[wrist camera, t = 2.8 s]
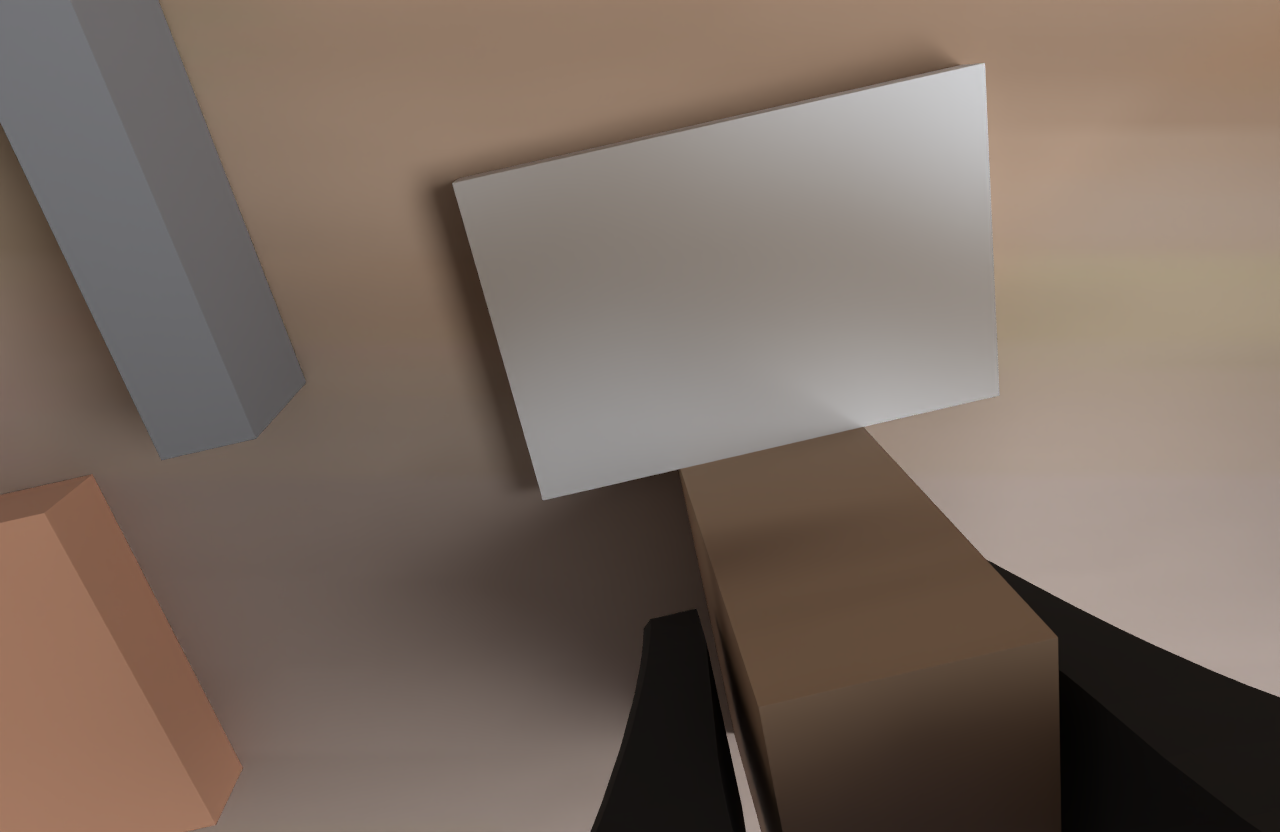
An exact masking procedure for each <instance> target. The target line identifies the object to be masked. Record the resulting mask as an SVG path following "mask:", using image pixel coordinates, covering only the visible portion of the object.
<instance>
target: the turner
mask: <svg viewBox="0 0 1280 832" xmlns="http://www.w3.org/2000/svg"><path fill="white" fill-rule="evenodd" d="M452 185H453V188H454V192H455V195H456V199H457V202H458V206H459V209H460V212H461V216H462V219H463V223H464V226H465V230H466V233H467V237H468V240H469V244H470V247H471V251H472V254H473V258H474V261H475V265H476V268H477V272H478V275H479V279H480V282H481V286H482V289H483V293H484V296H485V300H486V303H487V307H488V310H489V314H490V317H491V321H492V324H493V328H494V331H495V335H496V338H497V342H498V345H499V349H500V352H501V356H502V359H503V363H504V366H505V370H506V373H507V377H508V380H509V384H510V387H511V391H512V394H513V398H514V401H515V405H516V408H517V412H518V415H519V419H520V422H521V426H522V429H523V433H524V436H525V440H526V443H527V447H528V450H529V454H530V457H531V461H532V464H533V468H534V471H535V475H536V478H537V482H538V485H539V488H540V492H541V495H542V499H543V500H548V499H552V498H556V497H561V496H565V495H569V494H574V493H578V492H582V491H587V490H591V489H595V488H600V487H604V486H608V485H613V484H617V483H621V482H626V481H630V480H635V479H639V478H643V477H648V476H652V475H656V474H661V473H665V472H669V471H674V470H679V475H680V479H681V484H682V489H683V493H684V498H685V503H686V508H687V512H688V517H689V522H690V527H691V531H692V536H693V541H694V545H695V550H696V555H697V560H698V564H699V569H700V574H701V579H702V583H703V588H704V593H705V597H706V602H707V607H708V612H709V616H710V621H711V626H712V631H713V635H714V640H715V645H716V649H717V654H718V659H719V664H720V668H721V673H722V678H723V683H724V687H725V692H726V697H727V701H728V706H729V711H730V716H731V720H732V725H733V730H734V734H735V738H736V742H737V745H738V749H739V752H740V756H741V760H742V763H743V767H744V771H745V774H746V778H747V781H748V785H749V789H750V792H751V796H752V799H753V803H754V807H755V810H756V814H757V818H758V821H759V825H760V828H761V832H1061V784H1060V724H1059V665H1058V637H1057V636H1056V634H1055V633H1054V632H1053V631H1052V630H1051V629H1050V628H1049V627H1048V626H1047V625H1046V624H1045V623H1044V622H1043V620H1042V619H1041V618H1040V617H1039V616H1038V615H1037V614H1036V613H1035V612H1034V611H1033V610H1032V609H1031V608H1030V606H1029V605H1028V604H1027V603H1026V602H1025V601H1024V600H1023V599H1022V598H1021V597H1020V596H1019V595H1018V594H1017V592H1016V591H1015V590H1014V589H1013V588H1012V587H1011V586H1010V585H1009V584H1008V583H1007V582H1006V581H1005V579H1004V578H1003V577H1002V576H1001V575H1000V574H999V573H998V572H997V571H996V570H995V569H994V568H993V567H992V565H991V564H990V563H989V562H988V561H987V560H986V559H985V558H984V557H983V556H982V555H981V554H980V553H979V551H978V550H977V549H976V548H975V547H974V546H973V545H972V544H971V543H970V542H969V541H968V540H967V538H966V537H965V536H964V535H963V534H962V533H961V532H960V531H959V530H958V529H957V528H956V527H955V526H954V524H953V523H952V522H951V521H950V520H949V519H948V518H947V517H946V516H945V515H944V514H943V513H942V512H941V510H940V509H939V508H938V507H937V506H936V505H935V504H934V503H933V502H932V501H931V500H930V499H929V498H928V496H927V495H926V494H925V493H924V492H923V491H922V490H921V489H920V488H919V487H918V486H917V485H916V483H915V482H914V481H913V480H912V479H911V478H910V477H909V476H908V475H907V474H906V473H905V472H904V471H903V469H902V468H901V467H900V466H899V465H898V464H897V463H896V462H895V461H894V460H893V459H892V458H891V457H890V455H889V454H888V453H887V452H886V451H885V450H884V449H883V448H882V447H881V446H880V445H879V444H878V443H877V441H876V440H875V439H874V438H873V437H872V436H871V435H870V434H869V433H868V432H867V431H866V430H865V428H864V427H865V426H869V425H874V424H878V423H882V422H887V421H891V420H895V419H900V418H904V417H908V416H913V415H917V414H921V413H926V412H930V411H934V410H939V409H943V408H947V407H952V406H956V405H960V404H965V403H969V402H973V401H978V400H982V399H987V398H991V397H995V396H999V374H998V351H997V328H996V305H995V283H994V260H993V237H992V215H991V192H990V169H989V146H988V124H987V101H986V78H985V63H978V64H966V65H958V66H954V67H950V68H945V69H941V70H936V71H932V72H927V73H923V74H919V75H914V76H910V77H905V78H901V79H896V80H892V81H888V82H883V83H879V84H874V85H870V86H865V87H861V88H857V89H852V90H848V91H843V92H839V93H834V94H830V95H826V96H821V97H817V98H812V99H808V100H803V101H799V102H795V103H790V104H786V105H781V106H777V107H772V108H768V109H764V110H759V111H755V112H750V113H746V114H741V115H737V116H733V117H728V118H724V119H719V120H715V121H710V122H706V123H702V124H697V125H693V126H688V127H684V128H679V129H675V130H671V131H666V132H662V133H657V134H653V135H648V136H644V137H640V138H635V139H631V140H626V141H622V142H617V143H613V144H609V145H604V146H600V147H595V148H591V149H586V150H582V151H578V152H573V153H569V154H564V155H560V156H555V157H551V158H547V159H542V160H538V161H533V162H529V163H524V164H520V165H516V166H511V167H507V168H502V169H498V170H493V171H489V172H485V173H480V174H476V175H471V176H467V177H462V178H458V179H457V180H456V181H454V182H453V183H452Z"/></svg>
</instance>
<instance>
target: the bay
mask: <svg viewBox="0 0 1280 832" xmlns="http://www.w3.org/2000/svg"><path fill="white" fill-rule="evenodd" d="M0 123H1V125H2V127H3V129H4V131H5V133H6V135H7V138H8V140H9V142H10V144H11V146H12V148H13V150H14V152H15V154H16V156H17V159H18V161H19V163H20V165H21V167H22V169H23V171H24V173H25V175H26V177H27V180H28V182H29V184H30V186H31V188H32V190H33V192H34V194H35V196H36V198H37V200H38V203H39V205H40V207H41V209H42V211H43V213H44V215H45V217H46V219H47V221H48V224H49V226H50V228H51V230H52V232H53V234H54V236H55V238H56V240H57V242H58V245H59V247H60V249H61V251H62V253H63V255H64V257H65V259H66V261H67V263H68V265H69V268H70V270H71V272H72V274H73V276H74V278H75V280H76V282H77V284H78V286H79V289H80V291H81V293H82V295H83V297H84V299H85V301H86V303H87V305H88V307H89V310H90V312H91V314H92V316H93V318H94V320H95V322H96V324H97V326H98V328H99V330H100V333H101V335H102V337H103V339H104V341H105V343H106V345H107V347H108V349H109V351H110V354H111V356H112V358H113V360H114V362H115V364H116V366H117V368H118V370H119V372H120V375H121V377H122V379H123V381H124V383H125V385H126V387H127V389H128V391H129V393H130V395H131V398H132V400H133V402H134V404H135V406H136V408H137V410H138V412H139V414H140V416H141V419H142V421H143V423H144V425H145V427H146V429H147V431H148V433H149V435H150V437H151V440H152V442H153V444H154V446H155V448H156V450H157V452H158V454H159V456H160V458H161V460H165V459H169V458H174V457H178V456H182V455H187V454H191V453H195V452H200V451H204V450H209V449H213V448H217V447H222V446H226V445H231V444H235V443H239V442H244V441H248V440H252V439H256V438H257V437H258V436H259V435H260V434H261V433H262V431H263V430H264V429H265V428H266V427H267V426H268V425H269V424H270V422H271V421H272V420H273V419H274V418H275V417H276V416H277V415H278V413H279V412H280V411H281V410H282V409H283V408H284V407H285V406H286V405H287V403H288V402H289V401H290V400H291V399H292V398H293V397H294V396H295V394H296V393H297V392H298V391H299V390H300V389H301V388H302V387H303V386H304V384H305V383H306V381H305V378H304V376H303V373H302V370H301V368H300V365H299V363H298V360H297V358H296V355H295V352H294V350H293V347H292V345H291V342H290V339H289V337H288V334H287V332H286V329H285V327H284V324H283V321H282V319H281V316H280V314H279V311H278V308H277V306H276V303H275V301H274V298H273V296H272V293H271V290H270V288H269V285H268V283H267V280H266V277H265V275H264V272H263V270H262V267H261V264H260V262H259V259H258V257H257V254H256V252H255V249H254V246H253V244H252V241H251V239H250V236H249V233H248V231H247V228H246V226H245V223H244V221H243V218H242V215H241V213H240V210H239V208H238V205H237V202H236V200H235V197H234V195H233V192H232V190H231V187H230V184H229V182H228V179H227V177H226V174H225V171H224V169H223V166H222V164H221V161H220V159H219V156H218V153H217V151H216V148H215V146H214V143H213V140H212V138H211V135H210V133H209V130H208V127H207V125H206V122H205V120H204V117H203V115H202V112H201V109H200V107H199V104H198V102H197V99H196V96H195V94H194V91H193V89H192V86H191V84H190V81H189V78H188V76H187V73H186V71H185V68H184V65H183V63H182V60H181V58H180V55H179V53H178V50H177V47H176V45H175V42H174V40H173V37H172V34H171V32H170V29H169V27H168V24H167V21H166V19H165V16H164V14H163V11H162V9H161V6H160V3H159V1H158V0H0Z"/></svg>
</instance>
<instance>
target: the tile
mask: <svg viewBox="0 0 1280 832" xmlns="http://www.w3.org/2000/svg"><path fill="white" fill-rule="evenodd" d="M242 769H243V767H242V765H241V763H240V762H239V760H238V758H237V756H236V754H235V752H234V750H233V748H232V746H231V744H230V742H229V740H228V738H227V736H226V734H225V732H224V730H223V728H222V726H221V724H220V722H219V721H218V719H217V717H216V715H215V713H214V711H213V709H212V707H211V705H210V703H209V701H208V699H207V697H206V695H205V693H204V691H203V689H202V687H201V685H200V683H199V682H198V680H197V678H196V676H195V674H194V672H193V670H192V668H191V666H190V664H189V662H188V660H187V658H186V656H185V654H184V652H183V650H182V648H181V646H180V644H179V642H178V641H177V639H176V637H175V635H174V633H173V631H172V629H171V627H170V625H169V623H168V621H167V619H166V617H165V615H164V613H163V611H162V609H161V607H160V605H159V603H158V602H157V600H156V598H155V596H154V594H153V592H152V590H151V588H150V586H149V584H148V582H147V580H146V578H145V576H144V574H143V572H142V570H141V568H140V566H139V564H138V563H137V561H136V559H135V557H134V555H133V553H132V551H131V549H130V547H129V545H128V543H127V541H126V539H125V537H124V535H123V533H122V531H121V529H120V527H119V525H118V523H117V522H116V520H115V518H114V516H113V514H112V512H111V510H110V508H109V506H108V504H107V502H106V500H105V498H104V496H103V494H102V492H101V490H100V488H99V486H98V484H97V483H96V481H95V479H94V477H93V475H92V474H91V475H87V476H82V477H78V478H73V479H69V480H64V481H60V482H56V483H51V484H47V485H42V486H38V487H33V488H29V489H24V490H20V491H16V492H11V493H7V494H2V495H0V832H187V831H191V830H195V829H200V828H204V827H209V826H213V825H216V824H217V822H218V820H219V817H220V815H221V813H222V811H223V809H224V807H225V805H226V803H227V801H228V798H229V796H230V794H231V792H232V790H233V788H234V786H235V784H236V781H237V779H238V777H239V775H240V773H241V771H242Z"/></svg>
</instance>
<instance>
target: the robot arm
mask: <svg viewBox="0 0 1280 832" xmlns="http://www.w3.org/2000/svg"><path fill="white" fill-rule="evenodd" d="M987 561H988V560H987ZM988 562H989V563H990V564H991V565H992V567H993V568H994V569H995V570H996V571H997V572H998V573H999V574H1000V575H1001V576H1002V577H1003V578H1004V579H1005V581H1006V582H1007V583H1008V584H1009V585H1010V586H1011V587H1012V588H1013V589H1014V590H1015V591H1016V592H1017V594H1018V595H1019V596H1020V597H1021V598H1022V599H1023V600H1024V601H1025V602H1026V603H1027V604H1028V605H1029V606H1030V608H1031V609H1032V610H1033V611H1034V612H1035V613H1036V614H1037V615H1038V616H1039V617H1040V618H1041V619H1042V620H1043V622H1044V623H1045V624H1046V625H1047V626H1048V627H1049V628H1050V629H1051V630H1052V631H1053V632H1054V633H1055V634H1056V636H1057V637H1058V665H1059V724H1060V784H1061V832H1280V697H1277V696H1275V695H1272V694H1269V693H1267V692H1264V691H1261V690H1259V689H1256V688H1253V687H1251V686H1248V685H1245V684H1243V683H1241V682H1238V681H1236V680H1233V679H1231V678H1228V677H1226V676H1223V675H1221V674H1218V673H1216V672H1214V671H1211V670H1209V669H1207V668H1204V667H1202V666H1200V665H1198V664H1195V663H1193V662H1191V661H1189V660H1186V659H1184V658H1182V657H1180V656H1177V655H1175V654H1173V653H1171V652H1168V651H1166V650H1164V649H1162V648H1159V647H1157V646H1155V645H1153V644H1150V643H1148V642H1146V641H1144V640H1142V639H1140V638H1138V637H1136V636H1134V635H1131V634H1129V633H1127V632H1125V631H1123V630H1121V629H1119V628H1117V627H1115V626H1113V625H1111V624H1109V623H1107V622H1105V621H1103V620H1101V619H1099V618H1097V617H1095V616H1093V615H1091V614H1089V613H1087V612H1085V611H1083V610H1081V609H1079V608H1077V607H1075V606H1073V605H1071V604H1069V603H1067V602H1065V601H1063V600H1061V599H1060V598H1058V597H1056V596H1054V595H1052V594H1050V593H1048V592H1046V591H1044V590H1042V589H1041V588H1039V587H1037V586H1035V585H1033V584H1031V583H1029V582H1027V581H1026V580H1024V579H1022V578H1020V577H1018V576H1016V575H1014V574H1012V573H1011V572H1009V571H1007V570H1005V569H1003V568H1001V567H999V566H997V565H996V564H994V563H992V562H990V561H988ZM591 832H746V830H745V823H744V817H743V811H742V805H741V800H740V795H739V791H738V786H737V782H736V777H735V772H734V768H733V763H732V758H731V754H730V749H729V745H728V740H727V735H726V731H725V726H724V722H723V717H722V712H721V708H720V703H719V698H718V694H717V689H716V685H715V680H714V675H713V671H712V666H711V661H710V657H709V652H708V648H707V643H706V639H705V636H704V632H703V629H702V625H701V622H700V619H699V615H698V612H697V609H693V610H689V611H685V612H680V613H676V614H672V615H667V616H663V617H659V618H654V619H650V621H649V622H648V623H647V625H646V626H645V627H644V635H643V649H642V658H641V664H640V670H639V675H638V680H637V685H636V690H635V695H634V699H633V703H632V706H631V710H630V714H629V718H628V722H627V725H626V729H625V733H624V737H623V740H622V744H621V747H620V750H619V754H618V757H617V760H616V762H615V765H614V768H613V771H612V774H611V777H610V780H609V783H608V786H607V789H606V792H605V795H604V798H603V801H602V804H601V806H600V809H599V812H598V814H597V817H596V819H595V822H594V824H593V827H592V829H591Z"/></svg>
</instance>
